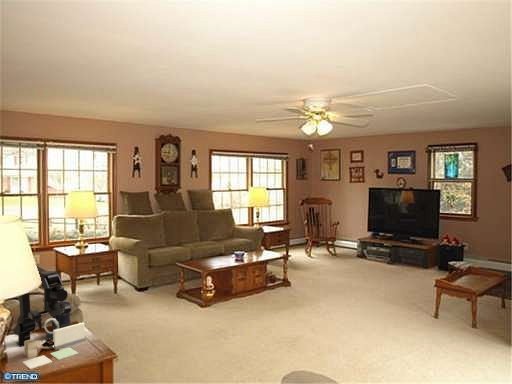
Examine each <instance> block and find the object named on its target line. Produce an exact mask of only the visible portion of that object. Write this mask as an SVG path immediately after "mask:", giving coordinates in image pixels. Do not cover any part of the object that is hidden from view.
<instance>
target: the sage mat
mask: <svg viewBox="0 0 512 384" xmlns="http://www.w3.org/2000/svg"><path fill="white" fill-rule="evenodd" d="M49 354H50V355H51V356H52V357H54V358H55V359H57V360H58V361H61V360H64V359H65V358H69V357H72V356H76V355H79V351H76V350H74V349H73V348H71V347H70V346H68V347H65V348H62V349H58V350H57V351H53V352H50V353H49Z"/></svg>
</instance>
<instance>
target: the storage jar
mask: <svg viewBox="0 0 512 384" xmlns="http://www.w3.org/2000/svg"><path fill="white" fill-rule="evenodd" d="M58 304H68V305H70V306H71V303H70V302H69V301H63V302H60V301H58ZM70 313H71V311H70V312H69V313H68V314H66V315H65V316H64V318H63V321H62V324H61V326H59V329H60V328H64V327H67V326H71V317H70V316H71V315H70ZM51 318H53V319H54V318H55V319H56V320H57V321H58V322H59V315H57V316H54V317H52V316H51ZM56 328H57V326H56V325H55V323H54V322H53V320H51V329H52V330H51V331H53V330H55V329H56Z"/></svg>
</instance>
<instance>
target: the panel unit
mask: <svg viewBox="0 0 512 384" xmlns="http://www.w3.org/2000/svg"><path fill="white" fill-rule="evenodd" d="M85 330H86V328H85V322H83V321H82V322H80V323H75V324H73V325H71V324H70V326H67V327H64V328H60V329H56V330H53V342H54V348H53V349H54V350H57V351H58V350H61V349H65V348H68V347H70V346H73V345H76V344H79V343H83V342H86V339H87V338H86V335H85V334H86V331H85Z"/></svg>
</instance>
